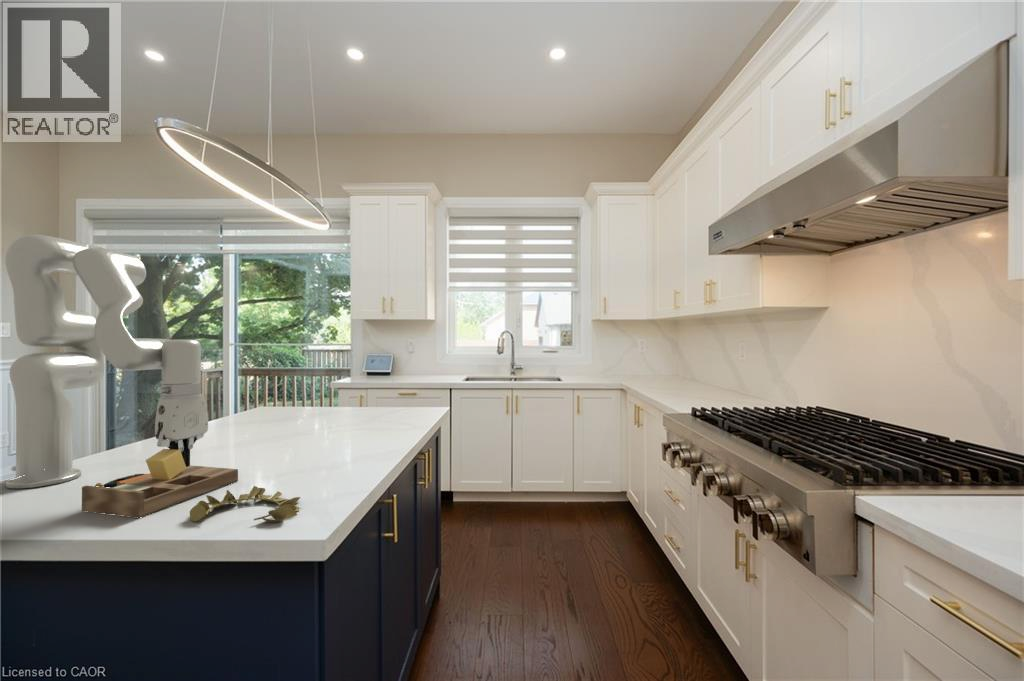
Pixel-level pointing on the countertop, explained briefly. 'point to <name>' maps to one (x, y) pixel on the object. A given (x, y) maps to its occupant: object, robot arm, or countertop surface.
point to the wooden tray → (156, 492)
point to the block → (166, 464)
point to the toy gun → (124, 480)
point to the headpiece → (279, 514)
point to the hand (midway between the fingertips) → (181, 466)
